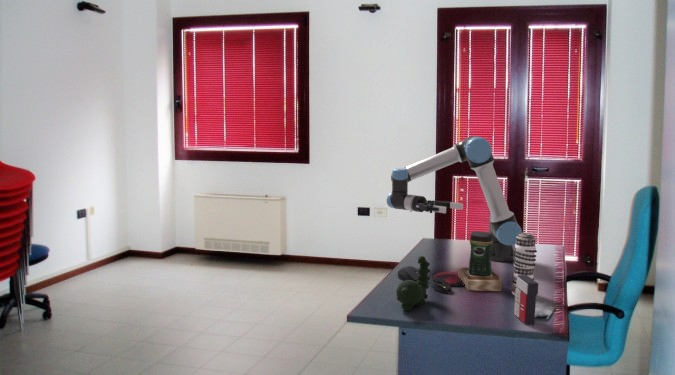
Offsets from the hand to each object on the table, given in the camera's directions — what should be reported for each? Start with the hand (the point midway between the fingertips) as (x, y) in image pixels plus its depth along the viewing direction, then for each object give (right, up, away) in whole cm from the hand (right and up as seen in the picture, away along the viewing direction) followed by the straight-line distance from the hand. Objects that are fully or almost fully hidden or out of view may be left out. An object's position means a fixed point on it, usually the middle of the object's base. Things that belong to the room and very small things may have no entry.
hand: (454, 208), depth 287 cm
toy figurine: (-24, -36, -44) cm, 62 cm away
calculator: (+15, -38, -58) cm, 71 cm away
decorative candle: (+23, -34, -26) cm, 49 cm away
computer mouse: (-16, -32, -14) cm, 38 cm away
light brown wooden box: (+8, -32, -12) cm, 35 cm away
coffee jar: (+9, -28, -12) cm, 32 cm away
